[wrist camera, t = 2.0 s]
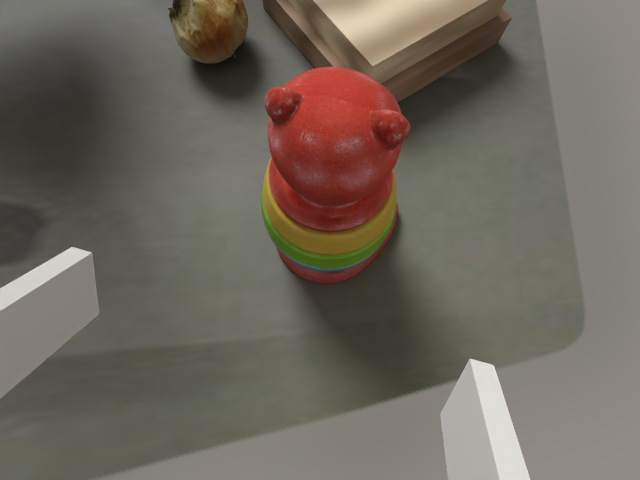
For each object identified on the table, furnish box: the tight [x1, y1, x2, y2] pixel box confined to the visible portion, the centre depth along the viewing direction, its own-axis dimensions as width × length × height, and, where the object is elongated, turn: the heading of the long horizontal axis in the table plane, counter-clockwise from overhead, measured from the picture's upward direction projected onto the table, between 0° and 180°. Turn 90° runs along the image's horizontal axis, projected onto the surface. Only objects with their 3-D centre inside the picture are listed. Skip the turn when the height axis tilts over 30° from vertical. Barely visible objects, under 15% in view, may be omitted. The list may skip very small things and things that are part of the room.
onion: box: [169, 0, 248, 63], centre depth 35 cm, size 8×8×8 cm
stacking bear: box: [261, 67, 410, 283], centre depth 24 cm, size 11×10×18 cm
